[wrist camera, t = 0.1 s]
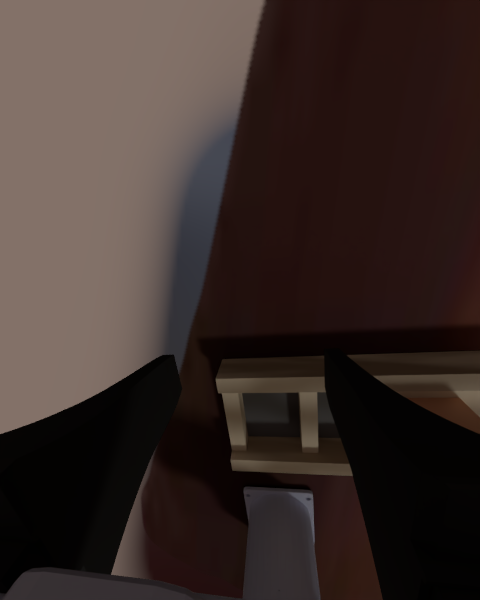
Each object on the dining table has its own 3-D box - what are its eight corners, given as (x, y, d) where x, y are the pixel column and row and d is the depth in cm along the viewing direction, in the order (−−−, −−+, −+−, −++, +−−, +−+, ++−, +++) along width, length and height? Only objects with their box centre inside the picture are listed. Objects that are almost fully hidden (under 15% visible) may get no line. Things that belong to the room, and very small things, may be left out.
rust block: (449, 444, 21) (488, 494, 17) (387, 442, 22) (411, 490, 18) (459, 397, 19) (504, 441, 15) (391, 397, 20) (418, 440, 16)
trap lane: (558, 451, 22) (600, 486, 19) (236, 443, 27) (232, 470, 24) (601, 346, 18) (660, 370, 16) (222, 359, 23) (215, 378, 20)
